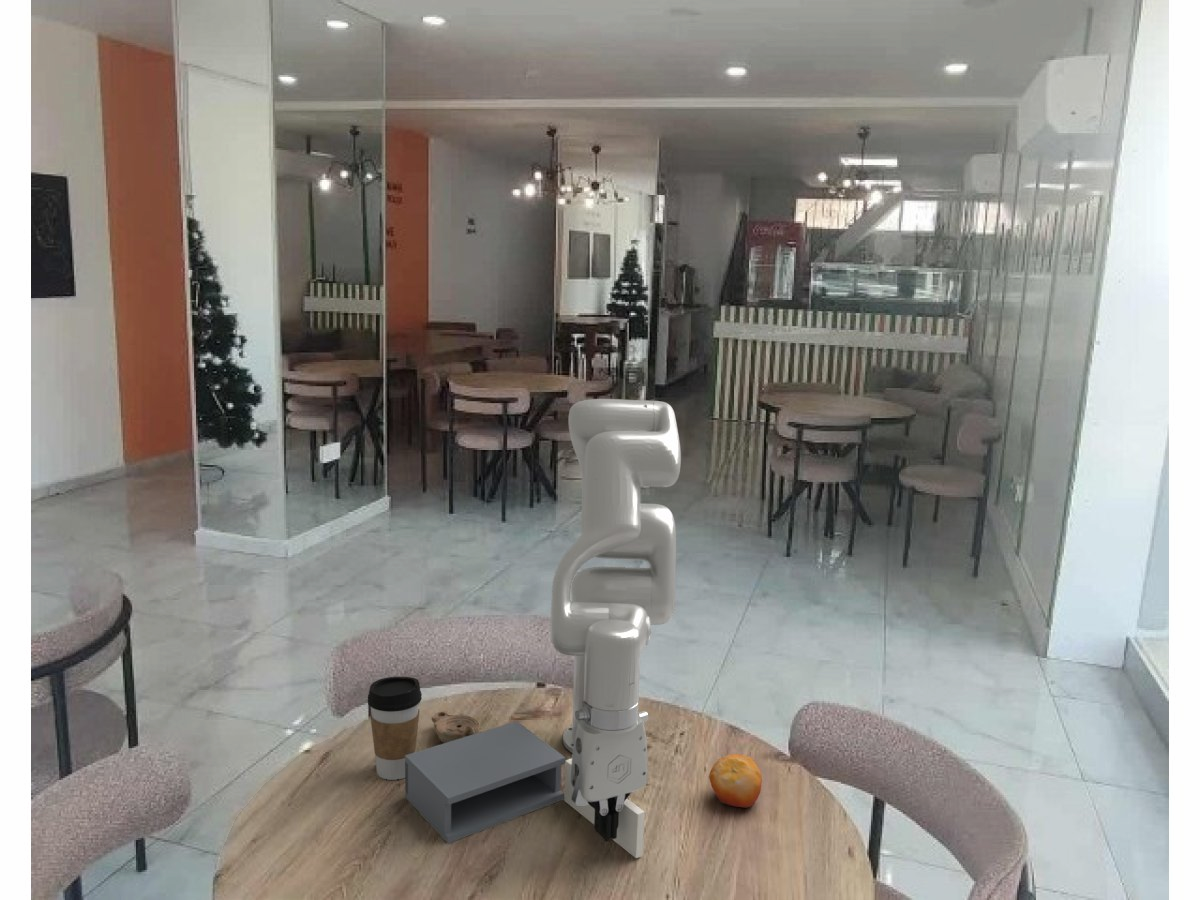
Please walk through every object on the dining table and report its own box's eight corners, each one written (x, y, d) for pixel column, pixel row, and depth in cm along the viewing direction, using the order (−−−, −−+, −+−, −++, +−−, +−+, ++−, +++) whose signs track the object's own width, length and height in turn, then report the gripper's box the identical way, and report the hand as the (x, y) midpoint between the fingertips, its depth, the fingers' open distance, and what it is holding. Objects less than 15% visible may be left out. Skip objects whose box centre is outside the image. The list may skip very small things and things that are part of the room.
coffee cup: (409, 788, 141) (408, 698, 138) (359, 780, 143) (357, 692, 140) (429, 760, 149) (429, 675, 146) (382, 754, 151) (381, 669, 148)
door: (562, 799, 139) (563, 759, 138) (574, 794, 140) (575, 755, 139) (636, 858, 125) (638, 814, 124) (648, 852, 126) (650, 809, 125)
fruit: (770, 780, 144) (766, 752, 139) (757, 825, 139) (752, 798, 134) (721, 767, 147) (716, 740, 142) (707, 811, 142) (701, 784, 137)
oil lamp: (421, 731, 159) (421, 704, 158) (459, 720, 163) (460, 694, 162) (456, 764, 149) (456, 736, 148) (495, 751, 153) (496, 724, 152)
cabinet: (516, 759, 150) (517, 720, 149) (564, 799, 139) (565, 757, 138) (405, 797, 138) (405, 755, 137) (447, 843, 127) (448, 798, 126)
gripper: (574, 734, 116) (570, 864, 119) (671, 712, 123) (665, 835, 126) (549, 710, 122) (546, 834, 125) (642, 690, 130) (637, 808, 133)
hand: (605, 834), depth 126 cm, fingers closed
